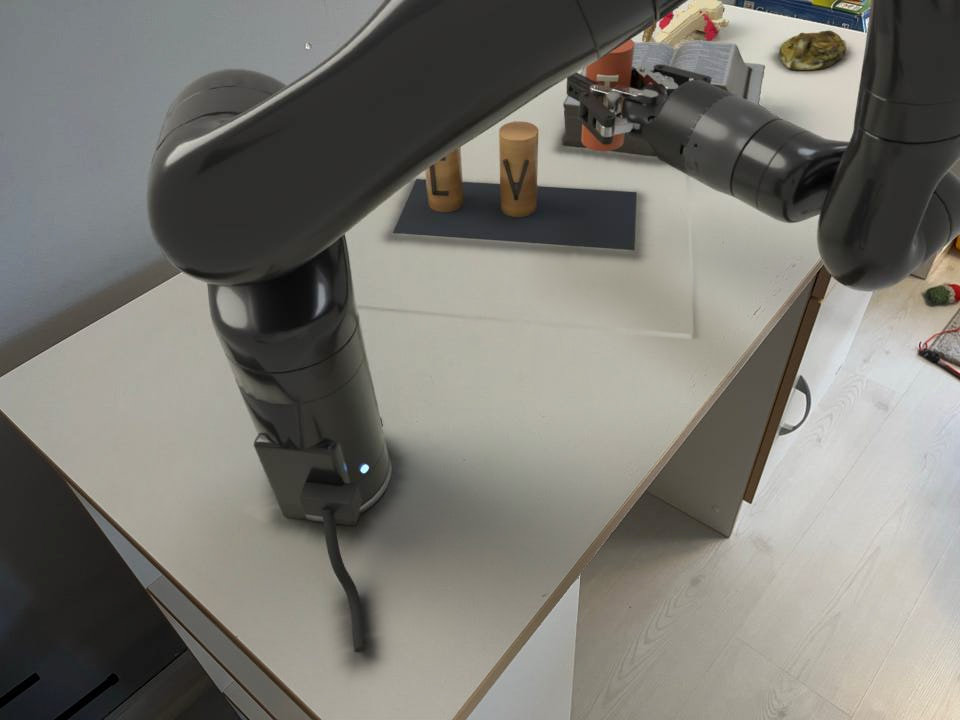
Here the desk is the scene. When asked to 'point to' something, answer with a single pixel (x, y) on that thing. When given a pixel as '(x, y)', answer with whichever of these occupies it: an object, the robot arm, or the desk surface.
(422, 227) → the word mat
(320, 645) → the desk surface
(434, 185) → the pillar
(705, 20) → the cream and red piece
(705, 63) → the bible
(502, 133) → the light wooden cylinder
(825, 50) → the olive rounded lump
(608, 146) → the pillar
